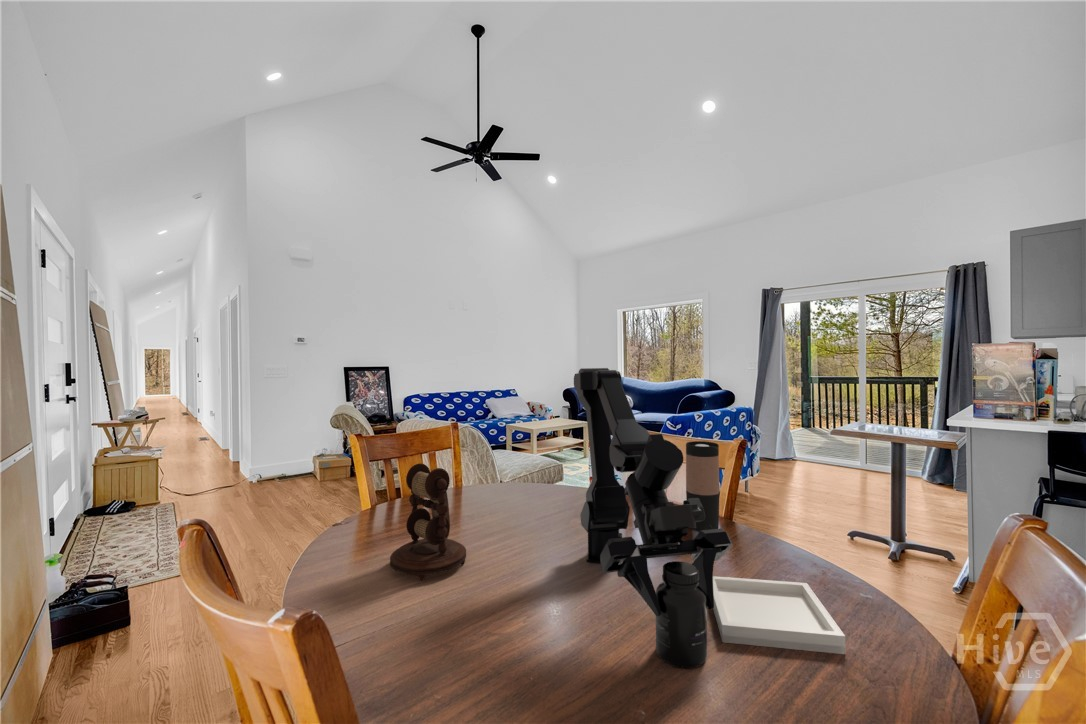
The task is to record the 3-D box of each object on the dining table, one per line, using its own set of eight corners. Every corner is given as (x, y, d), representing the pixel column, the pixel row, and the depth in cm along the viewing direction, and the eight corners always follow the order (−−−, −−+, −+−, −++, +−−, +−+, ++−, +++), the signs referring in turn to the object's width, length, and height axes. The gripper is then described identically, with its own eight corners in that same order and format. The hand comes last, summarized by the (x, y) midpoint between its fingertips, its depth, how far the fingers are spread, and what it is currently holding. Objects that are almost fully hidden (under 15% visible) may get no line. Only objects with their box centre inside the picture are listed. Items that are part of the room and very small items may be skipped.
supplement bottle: (710, 673, 63) (709, 581, 63) (656, 667, 65) (655, 577, 64) (704, 642, 70) (703, 559, 70) (655, 637, 71) (654, 556, 71)
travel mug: (681, 522, 121) (680, 441, 121) (711, 520, 122) (710, 440, 121) (693, 533, 113) (692, 447, 113) (725, 531, 114) (724, 446, 114)
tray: (722, 642, 70) (722, 624, 70) (707, 589, 86) (707, 575, 86) (845, 654, 67) (845, 636, 67) (806, 597, 82) (806, 583, 82)
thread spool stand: (481, 564, 98) (480, 464, 97) (417, 590, 87) (415, 478, 87) (438, 545, 108) (436, 455, 108) (376, 567, 97) (374, 466, 97)
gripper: (605, 483, 69) (636, 598, 58) (724, 474, 73) (774, 581, 62) (589, 520, 77) (614, 627, 66) (698, 511, 81) (738, 611, 70)
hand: (685, 612), depth 66 cm, fingers open, 7 cm apart
